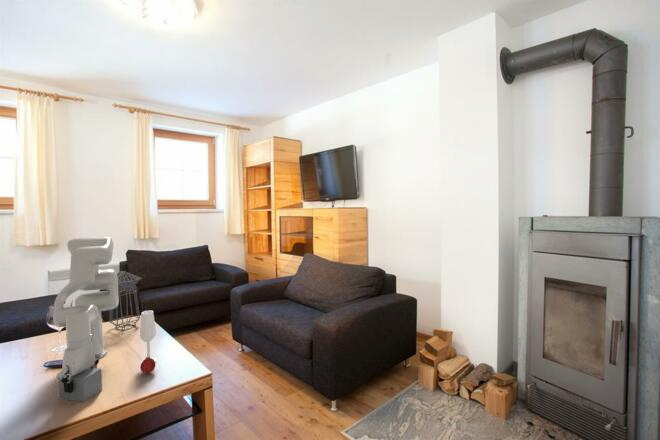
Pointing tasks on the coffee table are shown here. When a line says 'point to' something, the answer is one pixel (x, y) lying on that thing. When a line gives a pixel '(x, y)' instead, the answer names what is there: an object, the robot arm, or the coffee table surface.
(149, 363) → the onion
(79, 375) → the grey rectangular box
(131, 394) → the coffee table surface
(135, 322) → the geometric lantern
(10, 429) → the coffee table surface
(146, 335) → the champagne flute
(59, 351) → the coffee table surface
